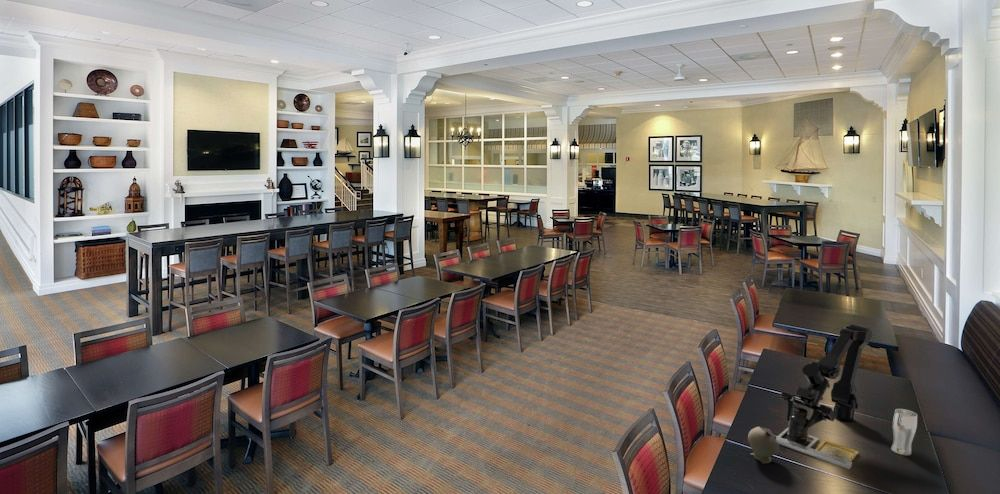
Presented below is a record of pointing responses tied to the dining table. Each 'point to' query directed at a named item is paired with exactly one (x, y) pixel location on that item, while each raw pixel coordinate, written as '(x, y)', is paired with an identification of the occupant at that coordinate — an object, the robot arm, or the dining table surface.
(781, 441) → the tray
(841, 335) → the robot arm
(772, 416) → the dining table surface
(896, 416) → the beer glass
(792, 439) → the supplement bottle
